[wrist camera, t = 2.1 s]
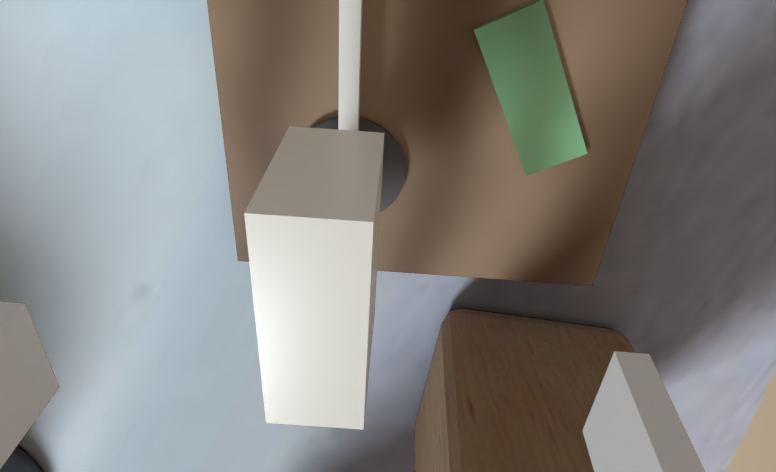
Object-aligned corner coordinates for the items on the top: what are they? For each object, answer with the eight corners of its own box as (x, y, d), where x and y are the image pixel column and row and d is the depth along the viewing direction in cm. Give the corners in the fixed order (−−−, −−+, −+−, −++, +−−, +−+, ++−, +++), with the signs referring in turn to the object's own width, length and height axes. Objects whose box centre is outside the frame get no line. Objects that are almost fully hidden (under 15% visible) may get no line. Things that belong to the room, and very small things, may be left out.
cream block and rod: (314, 247, 23) (265, 422, 15) (305, -139, 16) (205, -159, 8) (380, 252, 23) (363, 429, 15) (402, -132, 16) (391, -147, 8)
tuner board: (251, 232, 26) (236, 264, 24) (211, -180, 18) (180, -189, 15) (579, 255, 26) (594, 289, 24) (701, -147, 18) (744, -152, 15)
